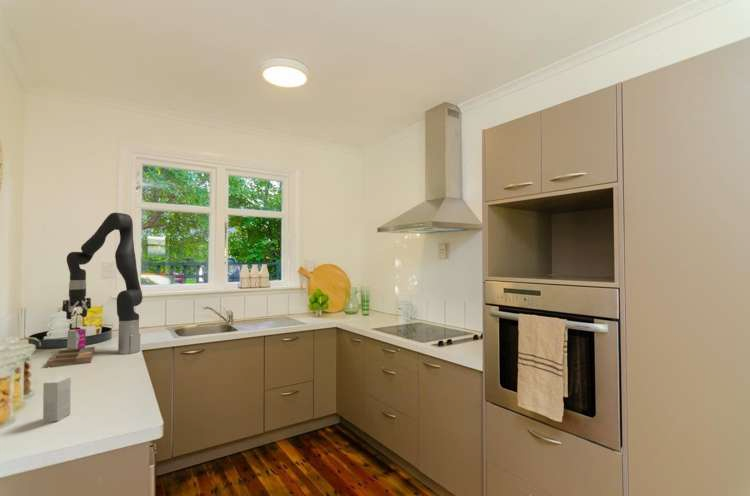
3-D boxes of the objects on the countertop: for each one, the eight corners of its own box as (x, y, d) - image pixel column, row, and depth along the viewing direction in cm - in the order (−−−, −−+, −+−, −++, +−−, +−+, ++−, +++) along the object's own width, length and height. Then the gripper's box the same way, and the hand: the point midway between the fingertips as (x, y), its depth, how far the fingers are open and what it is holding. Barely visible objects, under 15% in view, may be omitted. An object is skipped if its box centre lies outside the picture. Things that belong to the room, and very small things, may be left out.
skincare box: (56, 414, 124) (57, 376, 125) (70, 414, 125) (71, 376, 125) (41, 422, 118) (42, 382, 119) (56, 422, 119) (57, 382, 119)
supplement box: (75, 352, 209) (76, 330, 210) (66, 351, 210) (67, 330, 211) (85, 349, 215) (86, 328, 215) (76, 349, 216) (77, 328, 216)
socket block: (55, 356, 200) (56, 349, 200) (94, 352, 209) (94, 346, 209) (47, 367, 179) (47, 360, 179) (90, 362, 188) (90, 355, 188)
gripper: (84, 287, 221) (83, 316, 221) (59, 289, 207) (58, 319, 207) (95, 287, 220) (94, 316, 219) (70, 289, 206) (69, 320, 205)
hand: (76, 318), depth 213 cm, fingers open, 8 cm apart
